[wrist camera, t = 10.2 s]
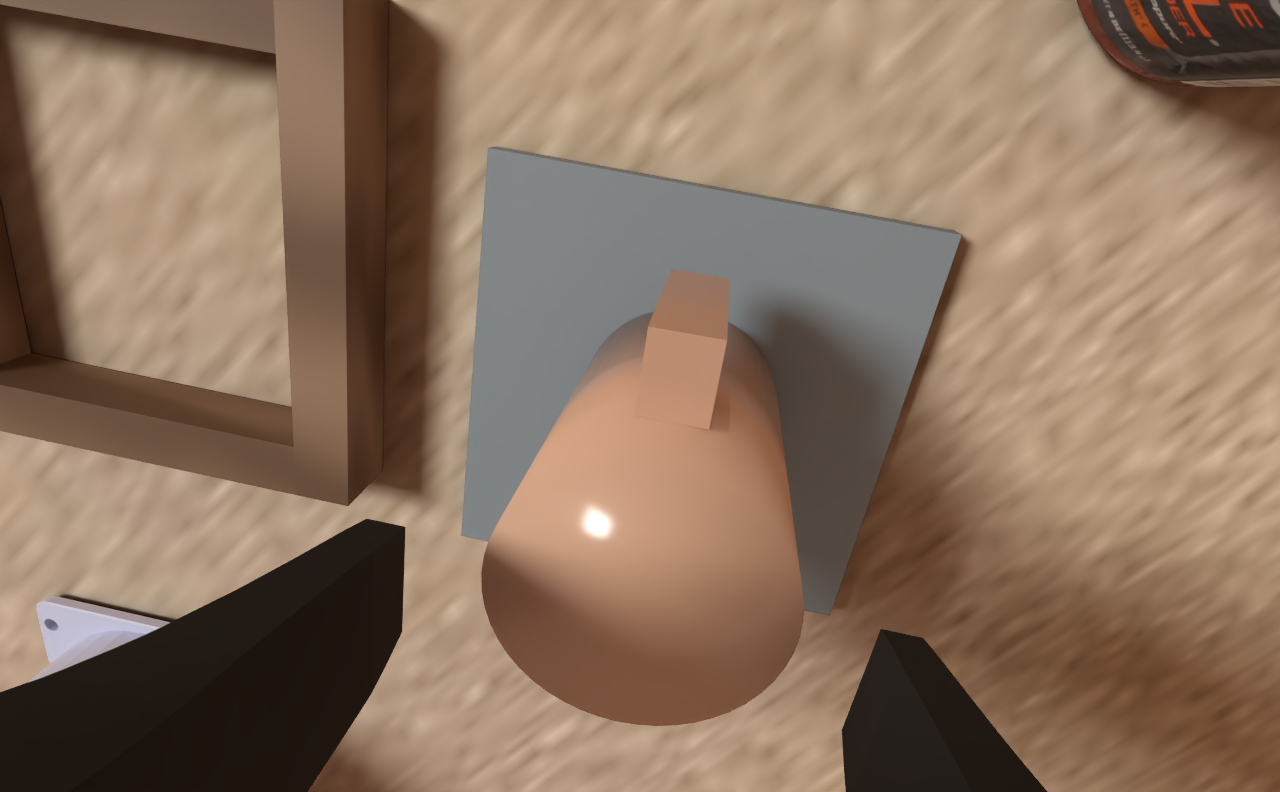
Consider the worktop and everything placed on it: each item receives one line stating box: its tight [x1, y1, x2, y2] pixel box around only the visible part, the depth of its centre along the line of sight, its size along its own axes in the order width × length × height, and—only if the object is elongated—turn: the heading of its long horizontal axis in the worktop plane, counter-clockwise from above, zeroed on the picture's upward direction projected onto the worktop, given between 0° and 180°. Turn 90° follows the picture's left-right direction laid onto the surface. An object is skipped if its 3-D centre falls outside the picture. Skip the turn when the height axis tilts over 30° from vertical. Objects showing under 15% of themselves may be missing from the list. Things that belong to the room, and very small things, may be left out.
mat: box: [461, 147, 962, 615], centre depth 18 cm, size 11×11×1 cm
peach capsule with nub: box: [482, 269, 804, 726], centre depth 14 cm, size 6×5×8 cm
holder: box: [0, 0, 389, 506], centre depth 18 cm, size 12×12×2 cm
